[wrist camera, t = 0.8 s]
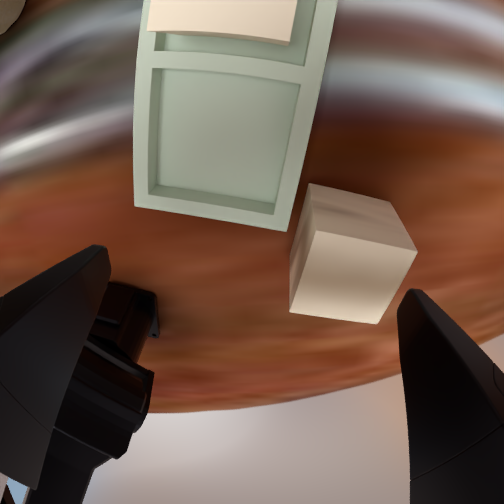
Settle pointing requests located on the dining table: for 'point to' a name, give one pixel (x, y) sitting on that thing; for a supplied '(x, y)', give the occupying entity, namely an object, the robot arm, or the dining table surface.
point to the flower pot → (9, 13)
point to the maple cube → (347, 256)
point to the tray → (227, 105)
